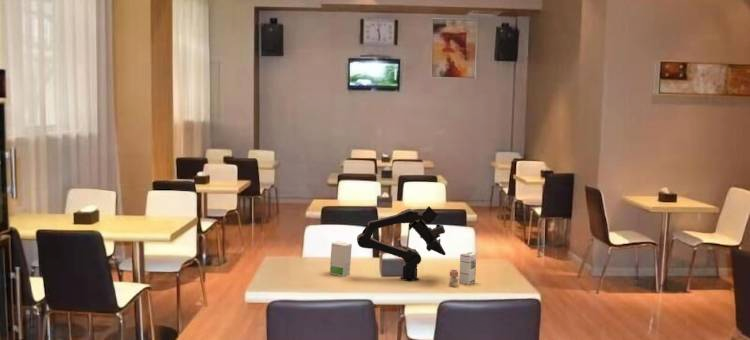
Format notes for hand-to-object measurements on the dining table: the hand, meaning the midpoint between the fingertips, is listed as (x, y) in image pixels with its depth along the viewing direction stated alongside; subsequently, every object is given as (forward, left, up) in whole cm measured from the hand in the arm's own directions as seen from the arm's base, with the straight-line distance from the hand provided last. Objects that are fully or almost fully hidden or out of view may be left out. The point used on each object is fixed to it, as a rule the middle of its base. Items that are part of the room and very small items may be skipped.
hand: (445, 254), depth 333 cm
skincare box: (-36, +35, -13) cm, 52 cm away
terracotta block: (+8, +1, -13) cm, 15 cm away
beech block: (-1, -8, -13) cm, 16 cm away
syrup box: (+8, -8, -13) cm, 17 cm away
